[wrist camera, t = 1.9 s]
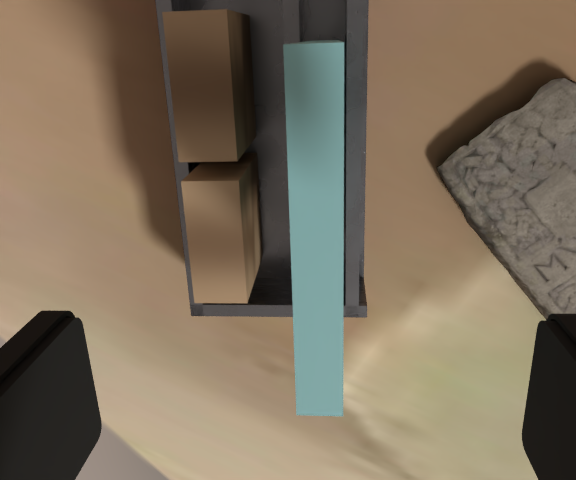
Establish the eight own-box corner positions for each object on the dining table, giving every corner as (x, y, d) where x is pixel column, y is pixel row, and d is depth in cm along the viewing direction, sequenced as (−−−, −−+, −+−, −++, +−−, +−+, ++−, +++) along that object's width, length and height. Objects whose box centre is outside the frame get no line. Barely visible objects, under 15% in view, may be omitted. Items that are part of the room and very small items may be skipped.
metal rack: (178, -28, 31) (150, -39, 26) (368, -37, 30) (374, -51, 25) (208, 281, 38) (191, 315, 33) (362, 282, 37) (366, 317, 32)
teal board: (310, 40, 31) (283, 44, 14) (338, 39, 31) (344, 42, 14) (314, 233, 35) (296, 415, 18) (338, 233, 35) (343, 416, 18)
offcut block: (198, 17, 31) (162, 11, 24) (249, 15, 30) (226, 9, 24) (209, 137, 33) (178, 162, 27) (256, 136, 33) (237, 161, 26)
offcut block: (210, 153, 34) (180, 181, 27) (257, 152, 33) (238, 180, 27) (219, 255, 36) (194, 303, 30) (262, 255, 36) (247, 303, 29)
